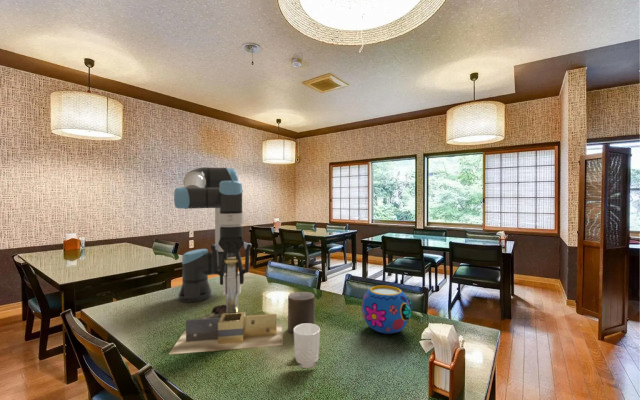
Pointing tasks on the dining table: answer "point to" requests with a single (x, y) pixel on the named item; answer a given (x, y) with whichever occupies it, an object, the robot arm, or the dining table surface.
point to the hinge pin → (231, 285)
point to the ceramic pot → (386, 309)
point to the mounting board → (214, 346)
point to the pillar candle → (300, 309)
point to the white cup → (306, 344)
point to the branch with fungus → (216, 312)
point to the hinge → (230, 327)
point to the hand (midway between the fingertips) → (232, 293)
